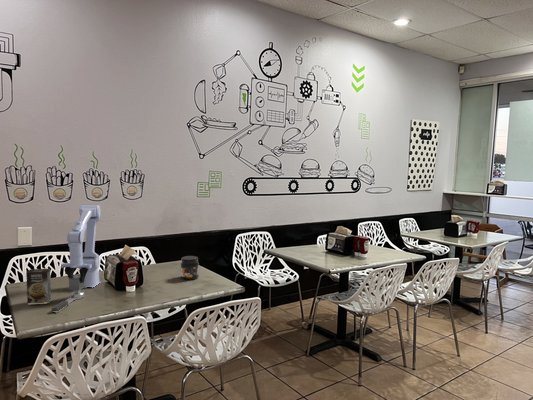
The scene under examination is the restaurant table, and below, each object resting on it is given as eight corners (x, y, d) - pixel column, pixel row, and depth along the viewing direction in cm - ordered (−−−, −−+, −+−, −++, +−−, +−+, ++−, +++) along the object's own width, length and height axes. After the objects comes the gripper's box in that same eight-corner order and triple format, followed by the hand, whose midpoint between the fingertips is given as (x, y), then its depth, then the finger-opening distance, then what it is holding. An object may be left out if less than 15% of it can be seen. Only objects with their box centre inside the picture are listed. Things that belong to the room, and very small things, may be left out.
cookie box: (27, 306, 193) (25, 272, 191) (30, 301, 199) (29, 268, 197) (48, 304, 195) (47, 271, 193) (51, 299, 201) (50, 267, 199)
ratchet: (74, 295, 208) (74, 284, 207) (86, 295, 208) (86, 285, 207) (48, 312, 185) (47, 300, 185) (61, 313, 185) (60, 301, 184)
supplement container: (177, 279, 237) (177, 259, 236) (185, 274, 247) (185, 254, 246) (193, 281, 234) (193, 260, 233) (201, 276, 244) (201, 256, 243)
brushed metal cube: (74, 286, 207) (74, 275, 206) (84, 287, 206) (84, 275, 206) (69, 290, 202) (68, 278, 201) (79, 290, 202) (78, 278, 201)
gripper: (57, 256, 199) (58, 284, 200) (86, 257, 198) (87, 285, 200) (65, 253, 206) (66, 279, 207) (93, 254, 205) (94, 280, 207)
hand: (77, 282), depth 204 cm, fingers closed on brushed metal cube, 5 cm apart
